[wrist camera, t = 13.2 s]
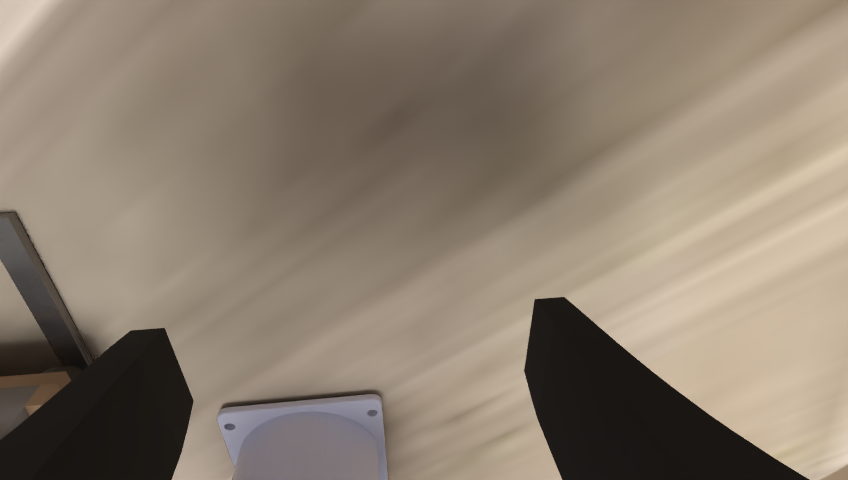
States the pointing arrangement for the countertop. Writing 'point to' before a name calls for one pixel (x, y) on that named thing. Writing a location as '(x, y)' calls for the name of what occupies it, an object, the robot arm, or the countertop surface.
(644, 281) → the countertop surface
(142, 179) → the countertop surface
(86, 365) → the rails
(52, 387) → the cart
